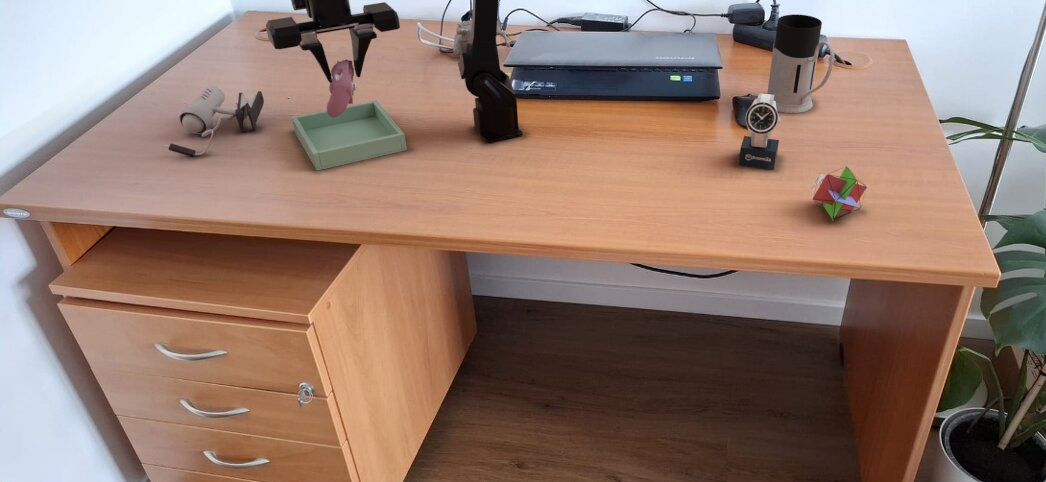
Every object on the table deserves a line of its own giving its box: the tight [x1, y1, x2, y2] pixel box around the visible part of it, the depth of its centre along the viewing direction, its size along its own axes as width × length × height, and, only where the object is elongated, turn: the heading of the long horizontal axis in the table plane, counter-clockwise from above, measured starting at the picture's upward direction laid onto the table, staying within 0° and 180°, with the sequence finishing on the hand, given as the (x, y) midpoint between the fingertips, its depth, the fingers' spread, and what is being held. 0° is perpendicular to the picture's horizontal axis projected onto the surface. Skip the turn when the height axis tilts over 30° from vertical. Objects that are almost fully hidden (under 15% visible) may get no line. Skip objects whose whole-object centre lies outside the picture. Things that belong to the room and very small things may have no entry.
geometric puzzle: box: [811, 165, 868, 221], centre depth 116 cm, size 7×7×8 cm
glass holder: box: [766, 14, 835, 114], centre depth 143 cm, size 9×14×15 cm, turn 25°
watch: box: [738, 93, 782, 171], centre depth 127 cm, size 6×8×11 cm
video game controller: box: [326, 59, 358, 117], centre depth 127 cm, size 10×5×7 cm, turn 12°
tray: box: [291, 100, 408, 172], centre depth 136 cm, size 15×16×3 cm
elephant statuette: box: [452, 17, 511, 58], centre depth 167 cm, size 9×12×8 cm
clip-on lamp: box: [163, 85, 265, 158], centre depth 137 cm, size 12×6×18 cm
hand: (344, 79), depth 128 cm, fingers closed on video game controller, 4 cm apart
